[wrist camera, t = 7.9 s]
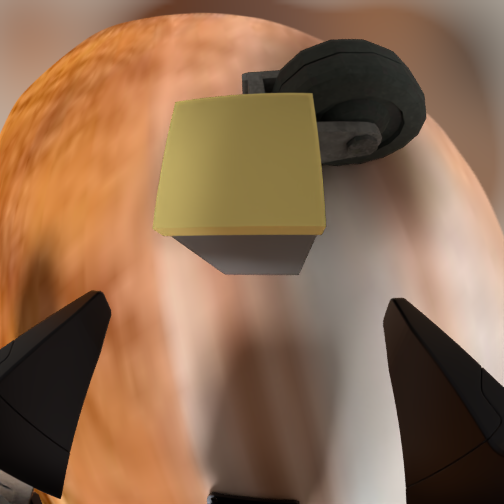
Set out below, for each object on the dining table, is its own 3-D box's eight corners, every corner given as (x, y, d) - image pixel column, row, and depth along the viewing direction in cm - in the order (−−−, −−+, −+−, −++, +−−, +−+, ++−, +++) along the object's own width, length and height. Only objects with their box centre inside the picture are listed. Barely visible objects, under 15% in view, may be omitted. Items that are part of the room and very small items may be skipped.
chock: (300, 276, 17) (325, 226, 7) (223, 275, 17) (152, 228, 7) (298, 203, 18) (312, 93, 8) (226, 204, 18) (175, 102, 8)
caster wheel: (374, 127, 20) (187, 131, 19) (422, 41, 10) (155, 29, 10) (393, 187, 18) (185, 197, 18) (467, 110, 9) (134, 99, 9)
